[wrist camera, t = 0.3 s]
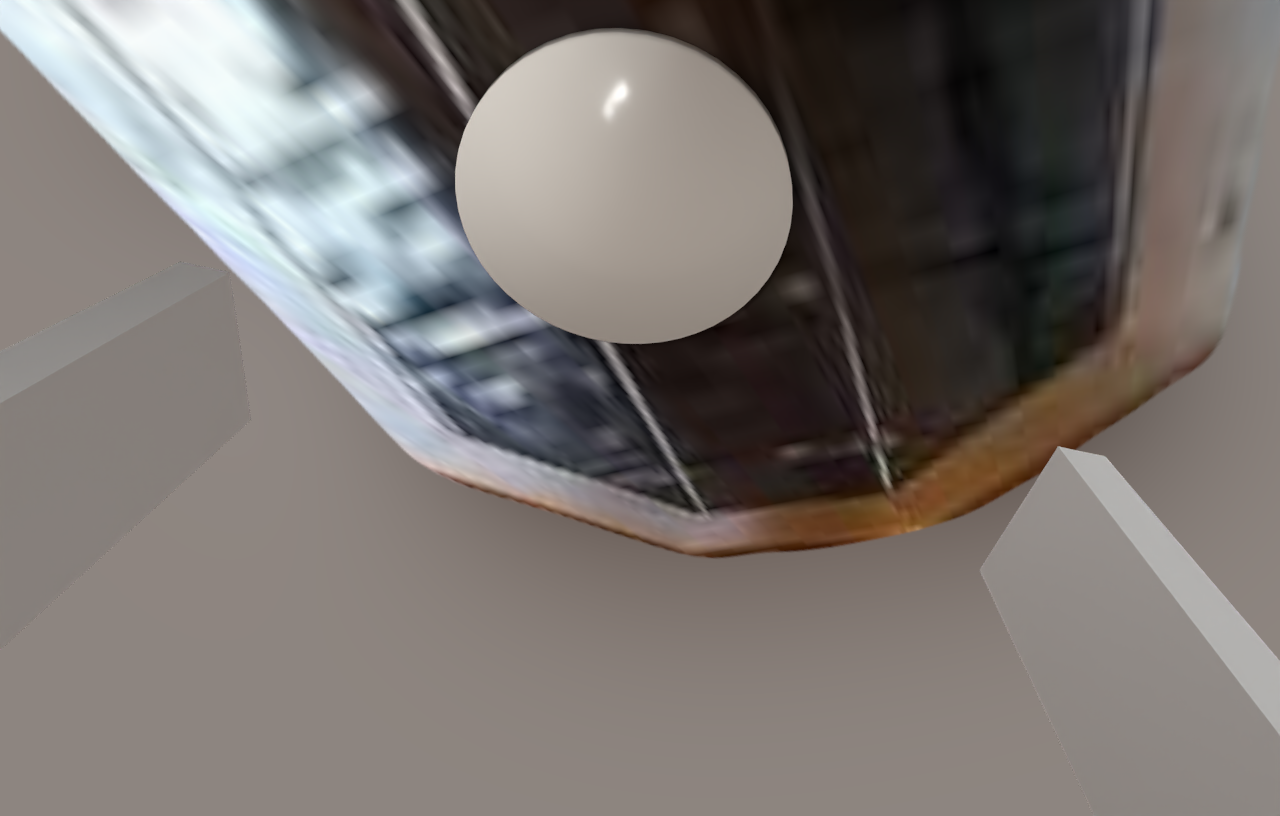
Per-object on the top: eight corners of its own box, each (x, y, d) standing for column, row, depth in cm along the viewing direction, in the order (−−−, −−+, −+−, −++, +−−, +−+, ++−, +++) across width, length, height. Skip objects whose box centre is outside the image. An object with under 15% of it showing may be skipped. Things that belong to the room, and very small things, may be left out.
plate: (619, -71, 28) (616, -64, 27) (858, 216, 37) (861, 229, 36) (398, 196, 38) (391, 207, 37) (627, 373, 47) (625, 385, 46)
